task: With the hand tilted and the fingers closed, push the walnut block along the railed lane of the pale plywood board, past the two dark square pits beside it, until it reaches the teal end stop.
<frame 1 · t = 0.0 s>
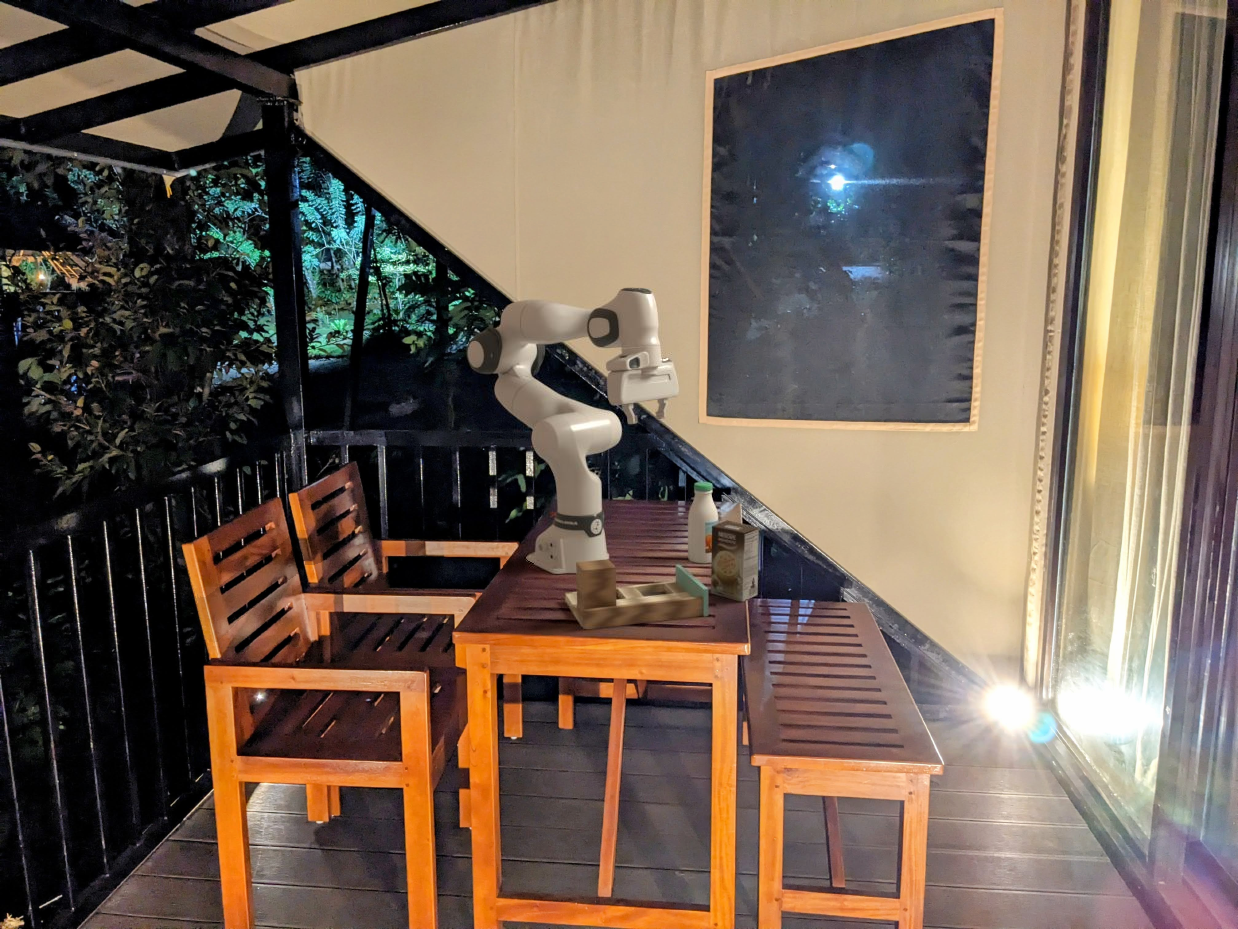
hand: (647, 421, 205), 39 cm above the table, tool pointing down, fingers open, 8 cm apart
coffee box: (734, 595, 205), on the table
milk bottle: (703, 560, 231), on the table
end stop: (696, 607, 197), on the table
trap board: (632, 608, 197), on the table
walnut block: (596, 610, 191), point 2 cm above the table, touching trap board
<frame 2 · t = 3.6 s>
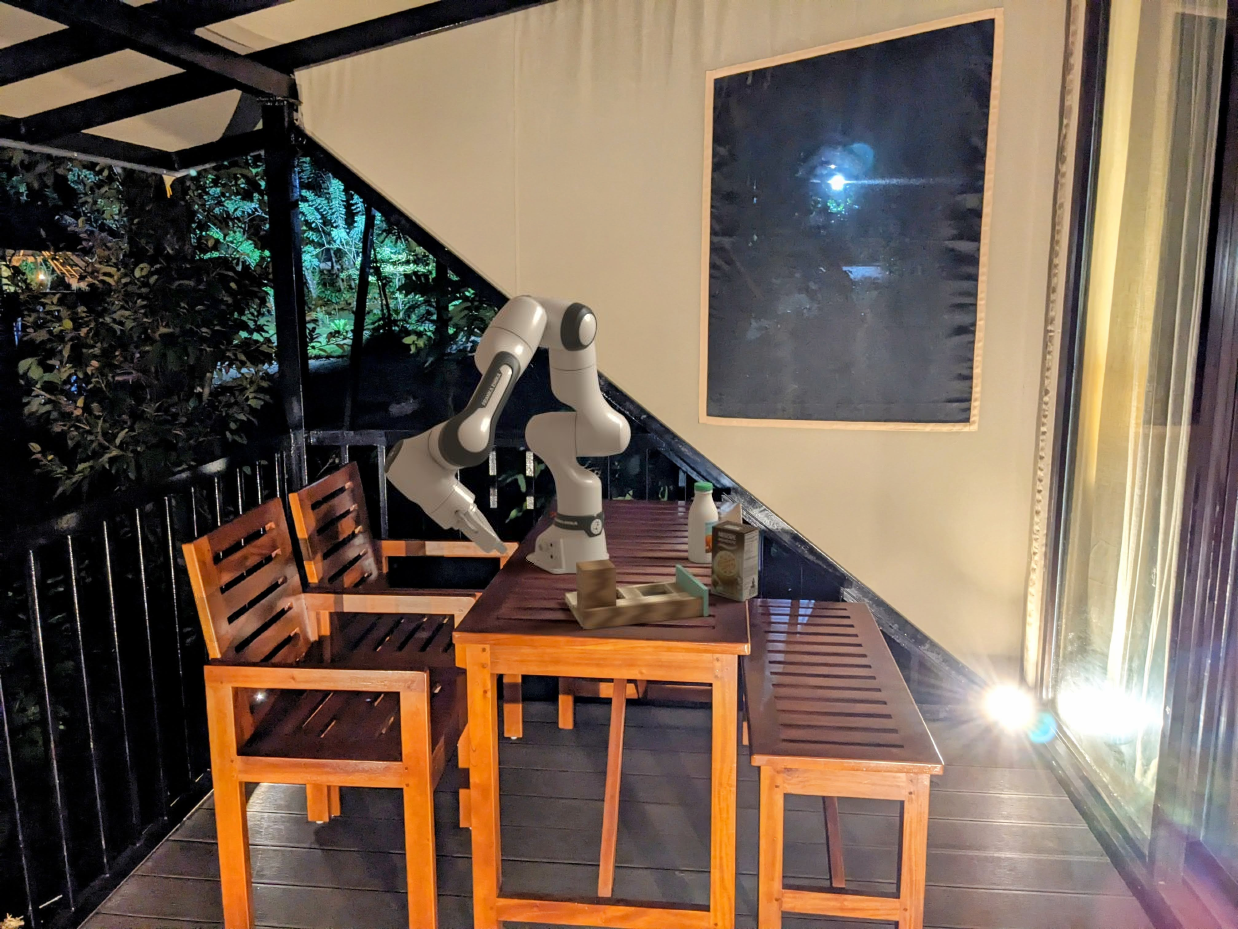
hand: (504, 550, 182), 17 cm above the table, tool tilted 45°, fingers closed
nothing on the table moved.
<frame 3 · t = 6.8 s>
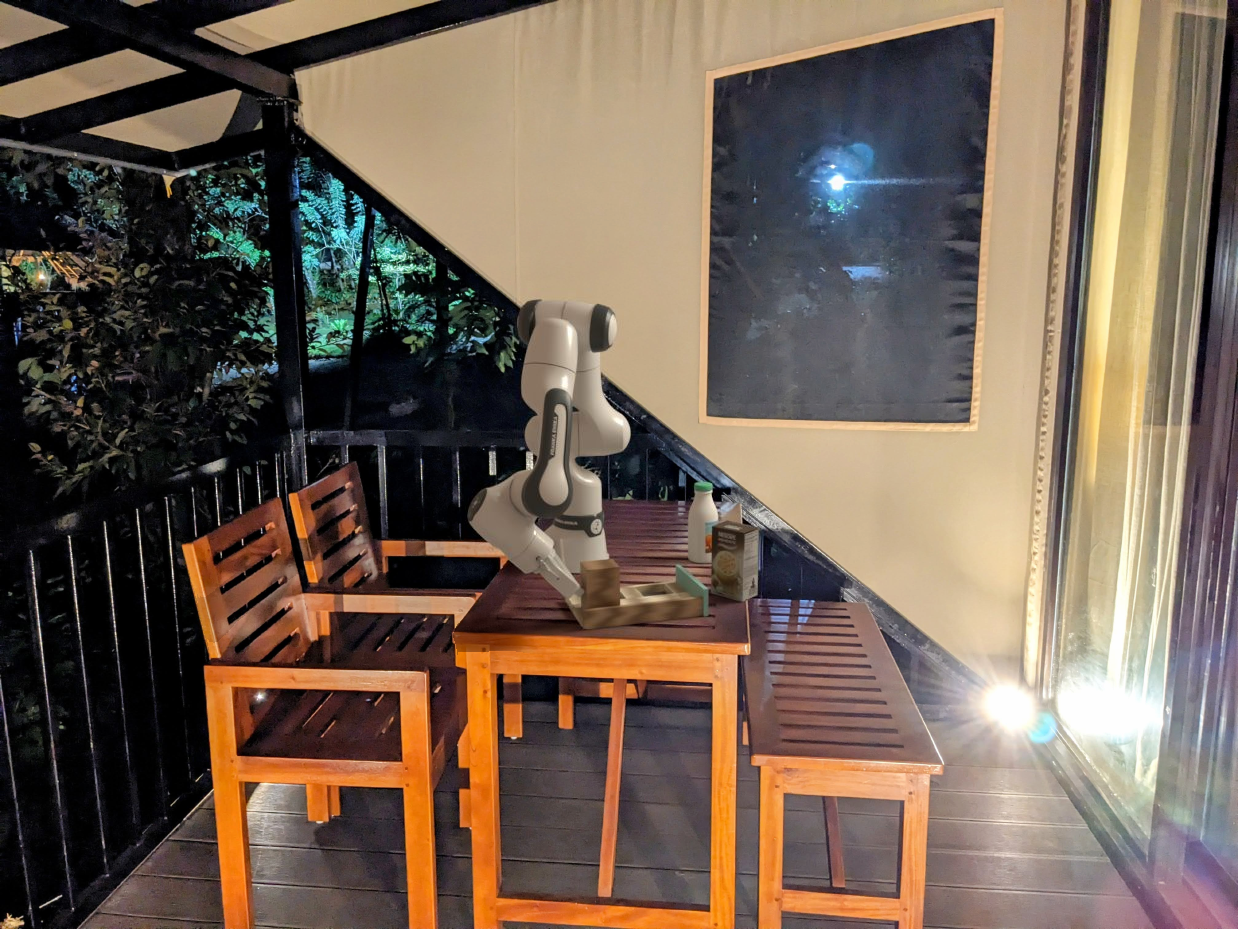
hand: (580, 592, 189), 6 cm above the table, tool tilted 45°, fingers closed, pressing on walnut block
walnut block: (600, 609, 191), point 2 cm above the table, touching gripper, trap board
everything else where it was.
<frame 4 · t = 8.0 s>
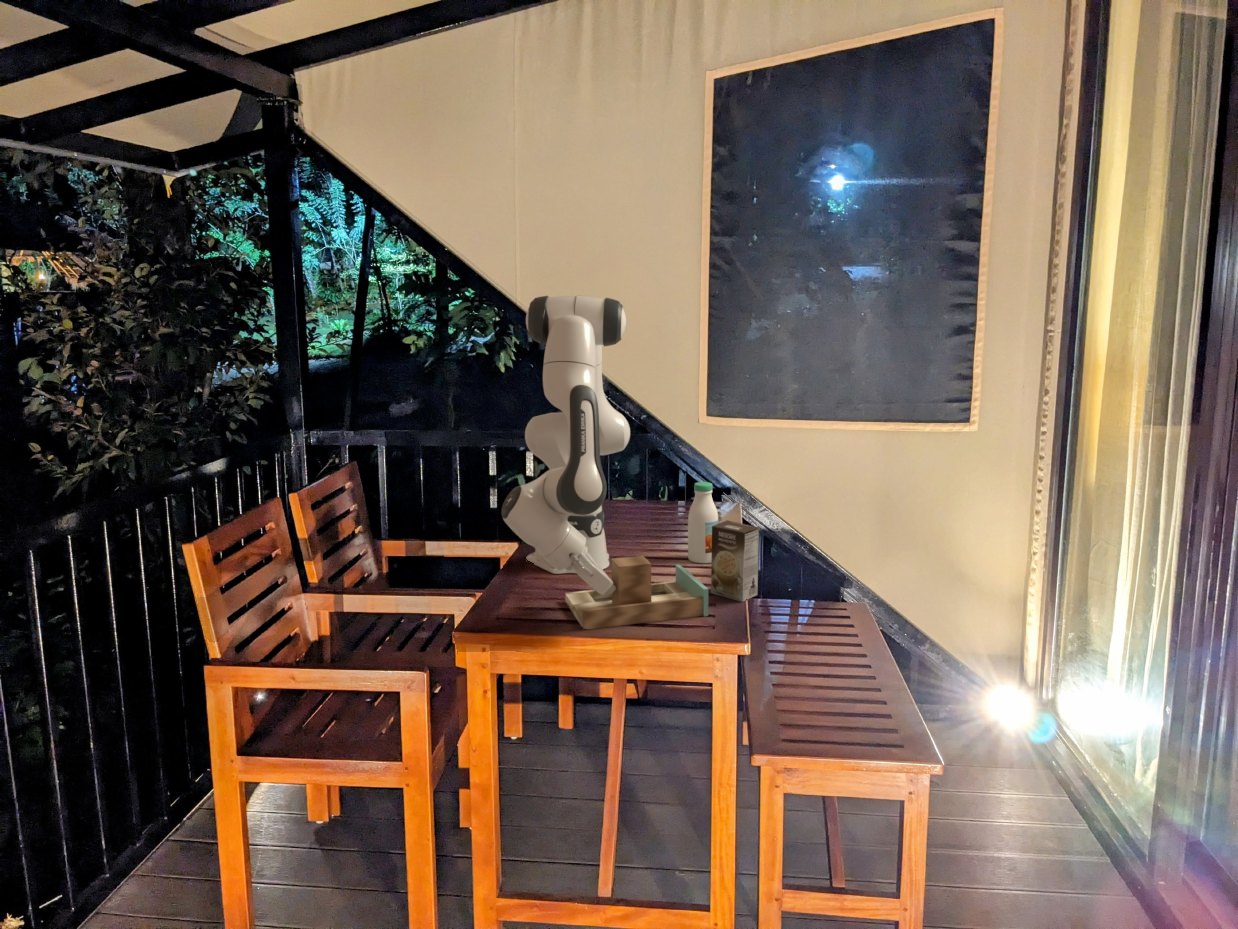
hand: (612, 589, 191), 6 cm above the table, tool tilted 45°, fingers closed, pressing on walnut block
walnut block: (631, 606, 193), point 2 cm above the table, touching gripper
everything else where it was.
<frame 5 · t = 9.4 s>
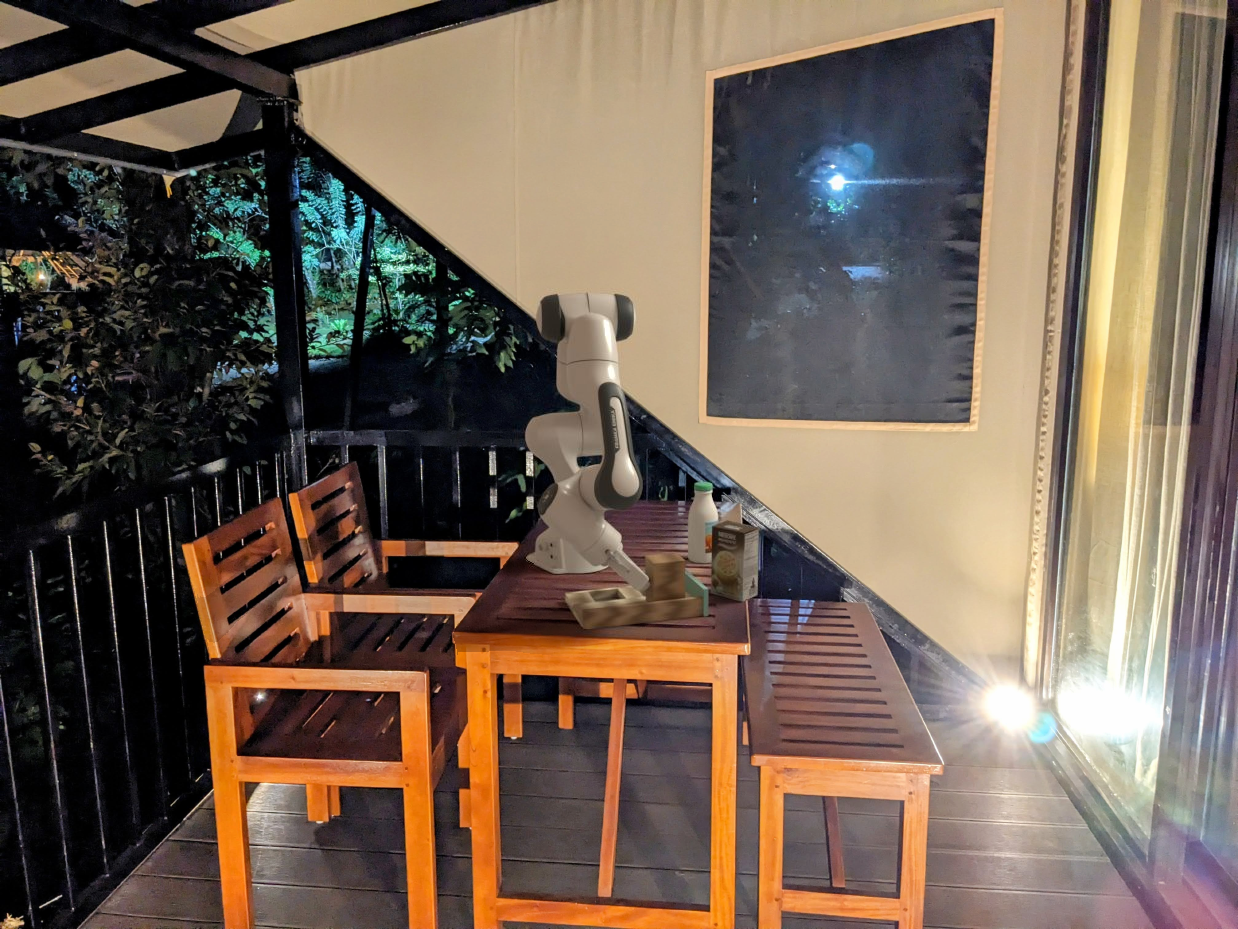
hand: (646, 585, 193), 6 cm above the table, tool tilted 45°, fingers closed
walnut block: (665, 602, 194), point 2 cm above the table, touching gripper
everything else where it was.
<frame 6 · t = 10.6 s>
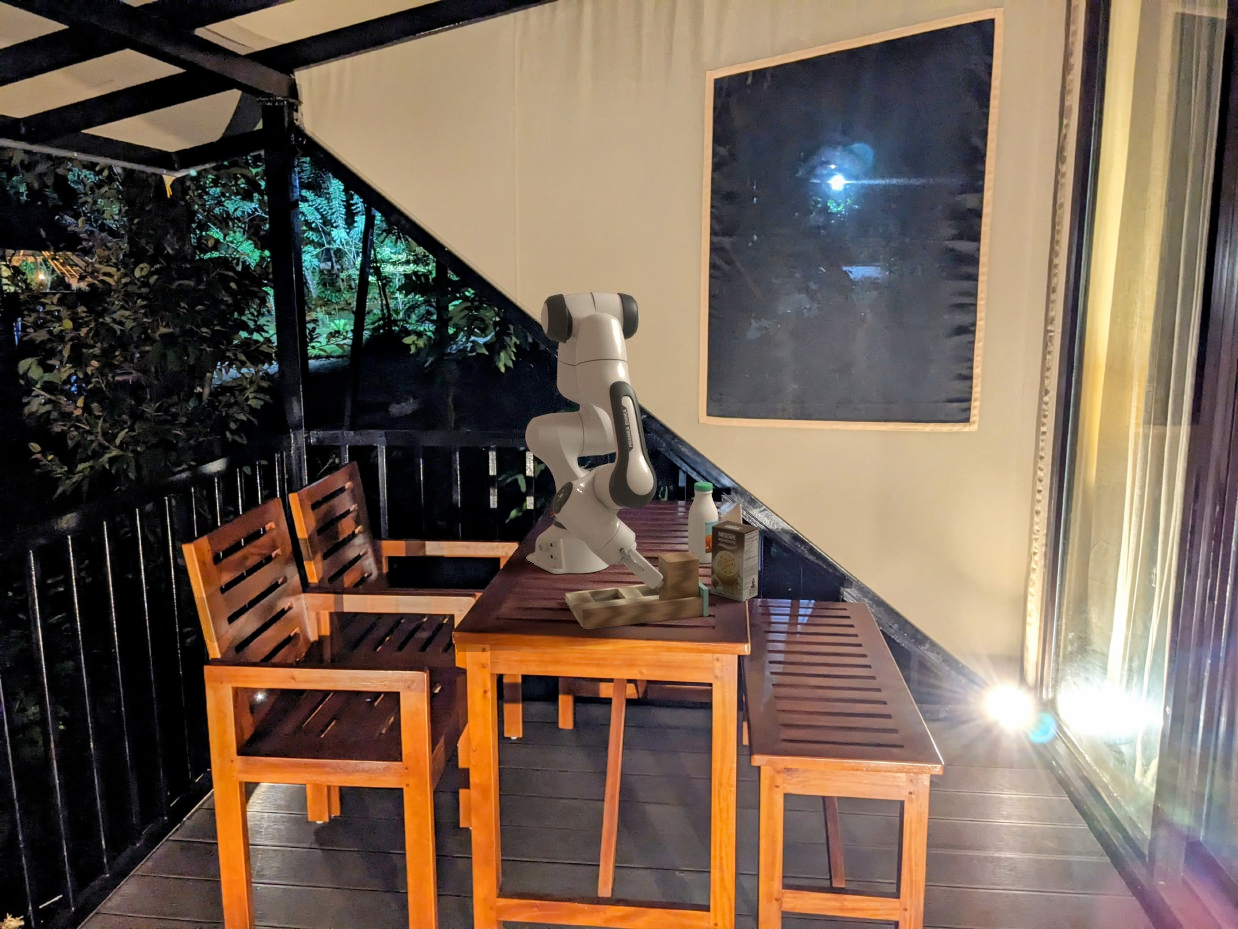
hand: (659, 583, 194), 6 cm above the table, tool tilted 45°, fingers closed, pressing on walnut block
walnut block: (678, 601, 195), point 2 cm above the table, touching gripper, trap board
everything else where it was.
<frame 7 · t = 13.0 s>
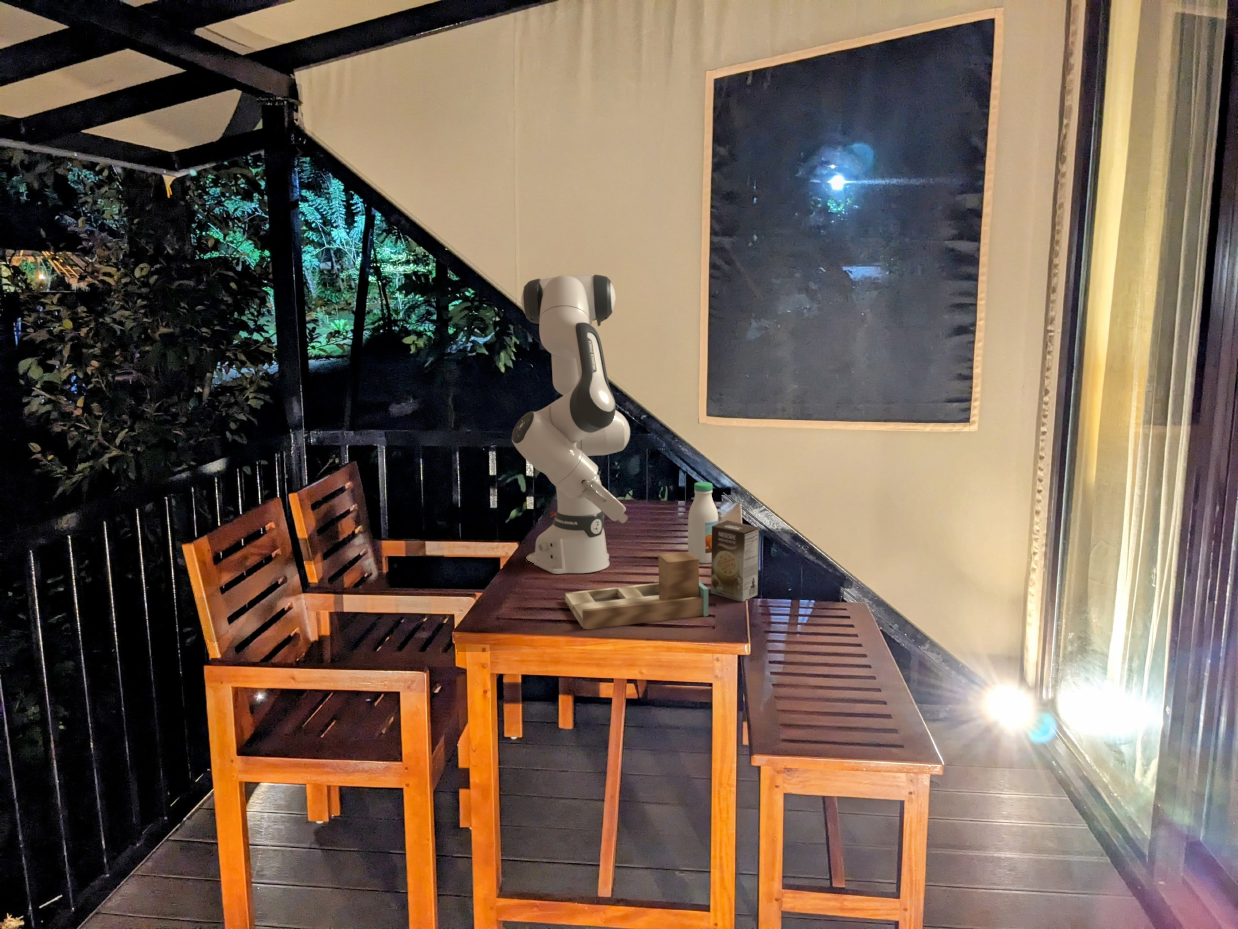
hand: (623, 519, 189), 21 cm above the table, tool tilted 45°, fingers closed
walnut block: (678, 601, 195), point 2 cm above the table, touching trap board
everything else where it was.
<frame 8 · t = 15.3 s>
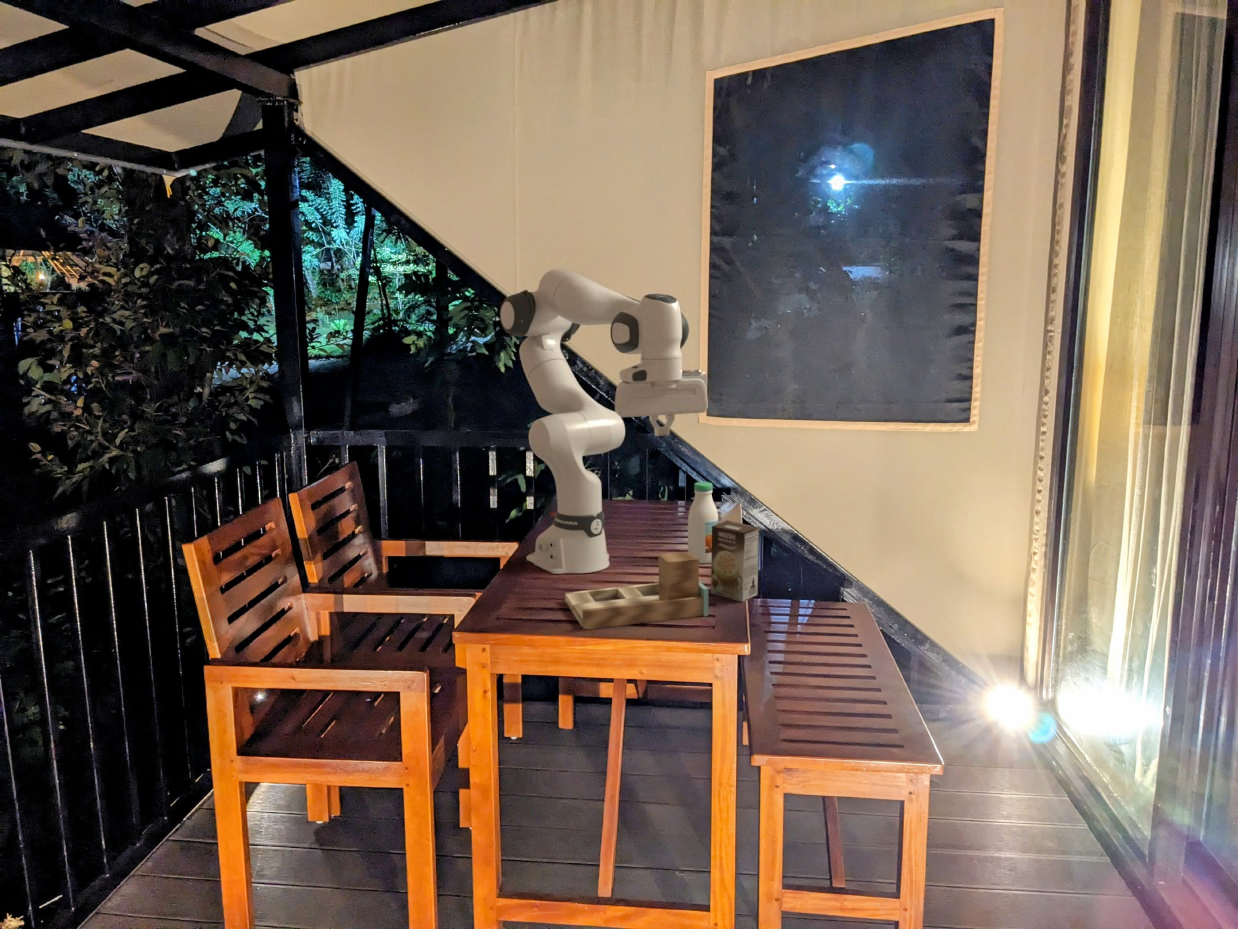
hand: (662, 435, 196), 37 cm above the table, tool pointing down, fingers closed
nothing on the table moved.
at the end: walnut block 4.3 cm from the end stop (horizontally); walnut block point 2.0 cm above the table; walnut block tilted 0° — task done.
